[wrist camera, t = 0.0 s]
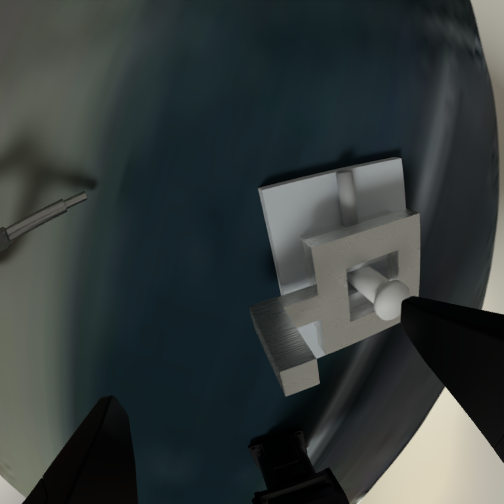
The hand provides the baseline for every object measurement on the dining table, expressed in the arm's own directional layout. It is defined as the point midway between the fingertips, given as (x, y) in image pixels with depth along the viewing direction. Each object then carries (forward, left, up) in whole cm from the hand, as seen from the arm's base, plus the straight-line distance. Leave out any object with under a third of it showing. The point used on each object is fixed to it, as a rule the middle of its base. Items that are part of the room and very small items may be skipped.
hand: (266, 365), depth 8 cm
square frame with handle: (-6, -10, -12) cm, 17 cm away
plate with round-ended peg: (-6, -10, -15) cm, 19 cm away
